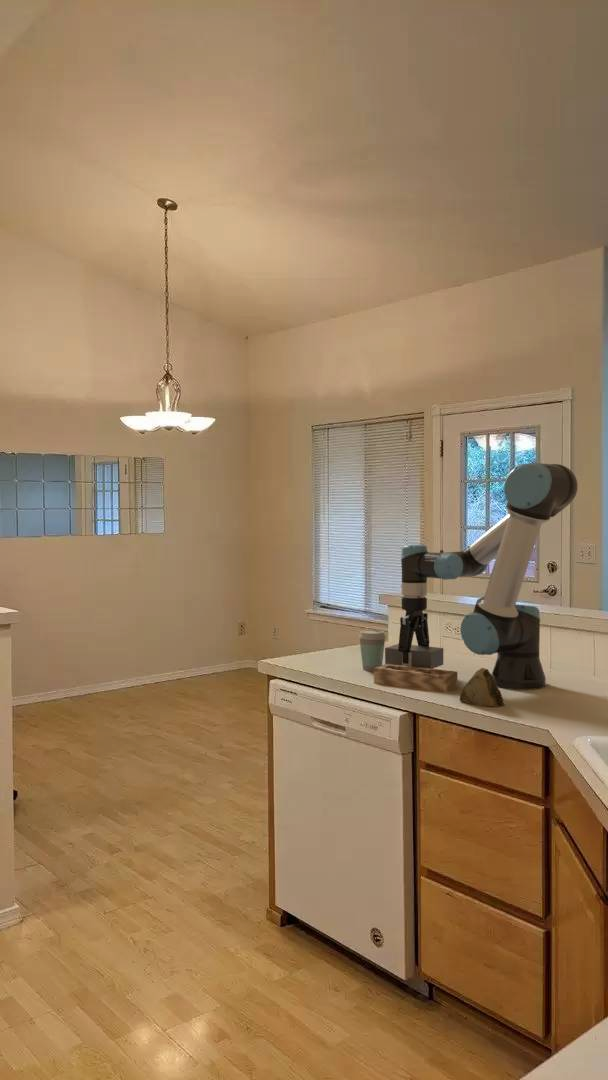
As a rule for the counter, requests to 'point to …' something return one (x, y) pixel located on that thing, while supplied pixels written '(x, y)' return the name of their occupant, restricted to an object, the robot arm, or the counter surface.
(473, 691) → the rock
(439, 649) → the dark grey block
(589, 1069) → the counter surface
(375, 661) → the coffee cup
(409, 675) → the brown long open box
